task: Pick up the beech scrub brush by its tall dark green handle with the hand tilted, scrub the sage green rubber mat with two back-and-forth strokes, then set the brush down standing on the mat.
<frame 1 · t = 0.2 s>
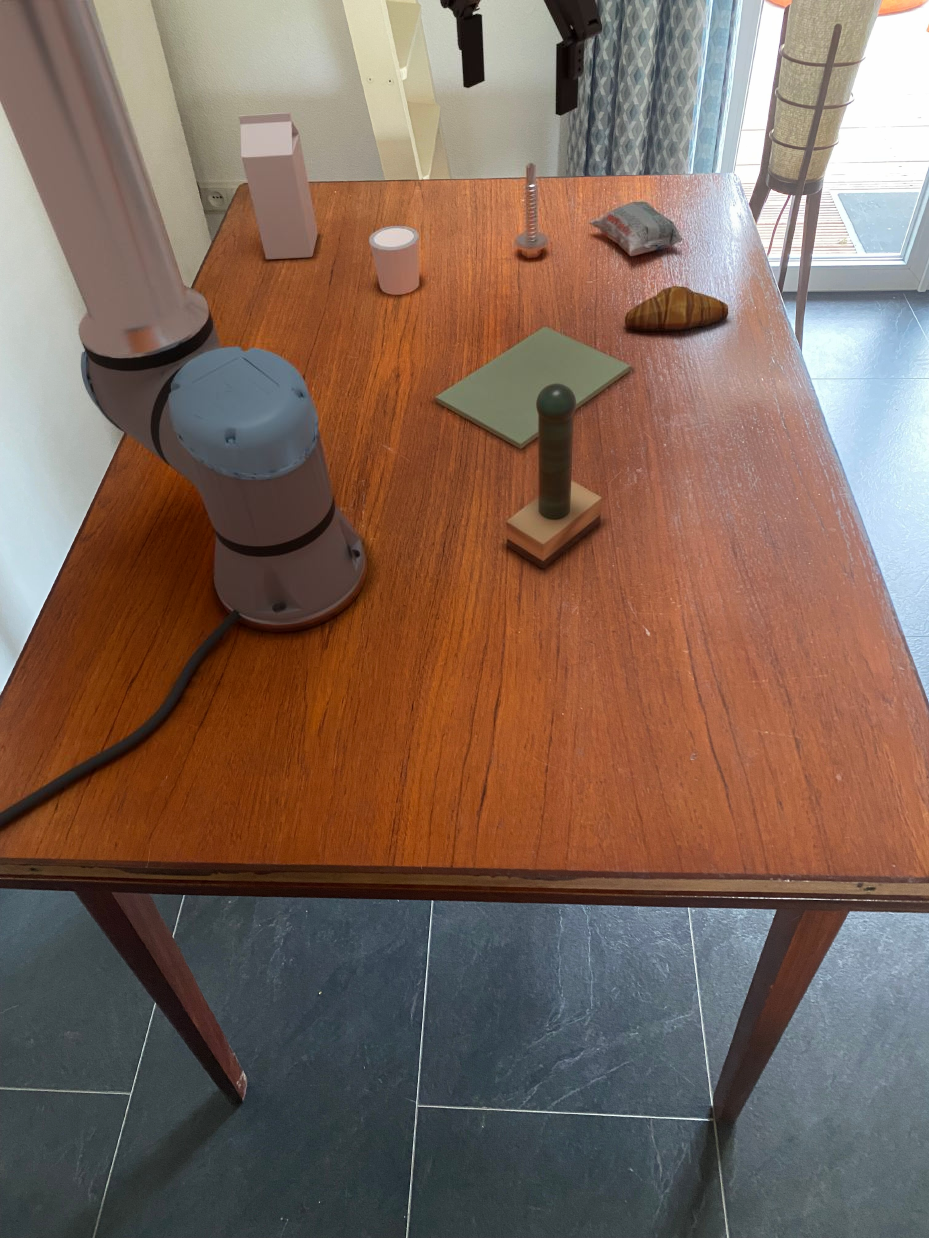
hand: (518, 97, 99), 28 cm above the table, tool pointing down, fingers open, 13 cm apart
croissant: (675, 325, 118), on the table
milk carton: (292, 249, 138), on the table
yogurt cup: (399, 285, 129), on the table
packaged food: (633, 246, 132), on the table
scrub brush: (553, 534, 94), on the table
screw: (531, 255, 132), on the table
mat: (533, 386, 111), on the table
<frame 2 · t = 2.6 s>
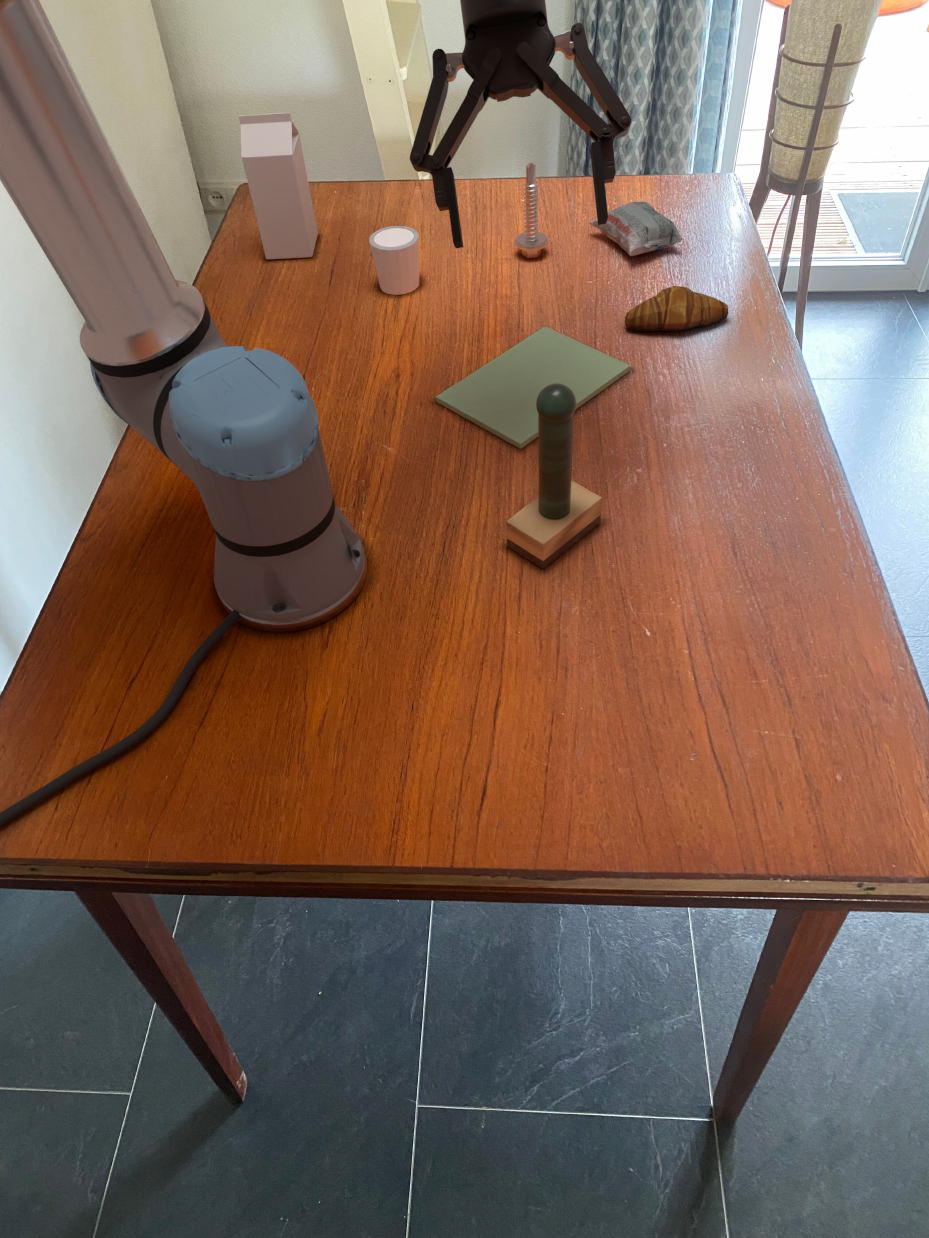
hand: (530, 234, 85), 25 cm above the table, tool tilted 40°, fingers open, 13 cm apart
nothing on the table moved.
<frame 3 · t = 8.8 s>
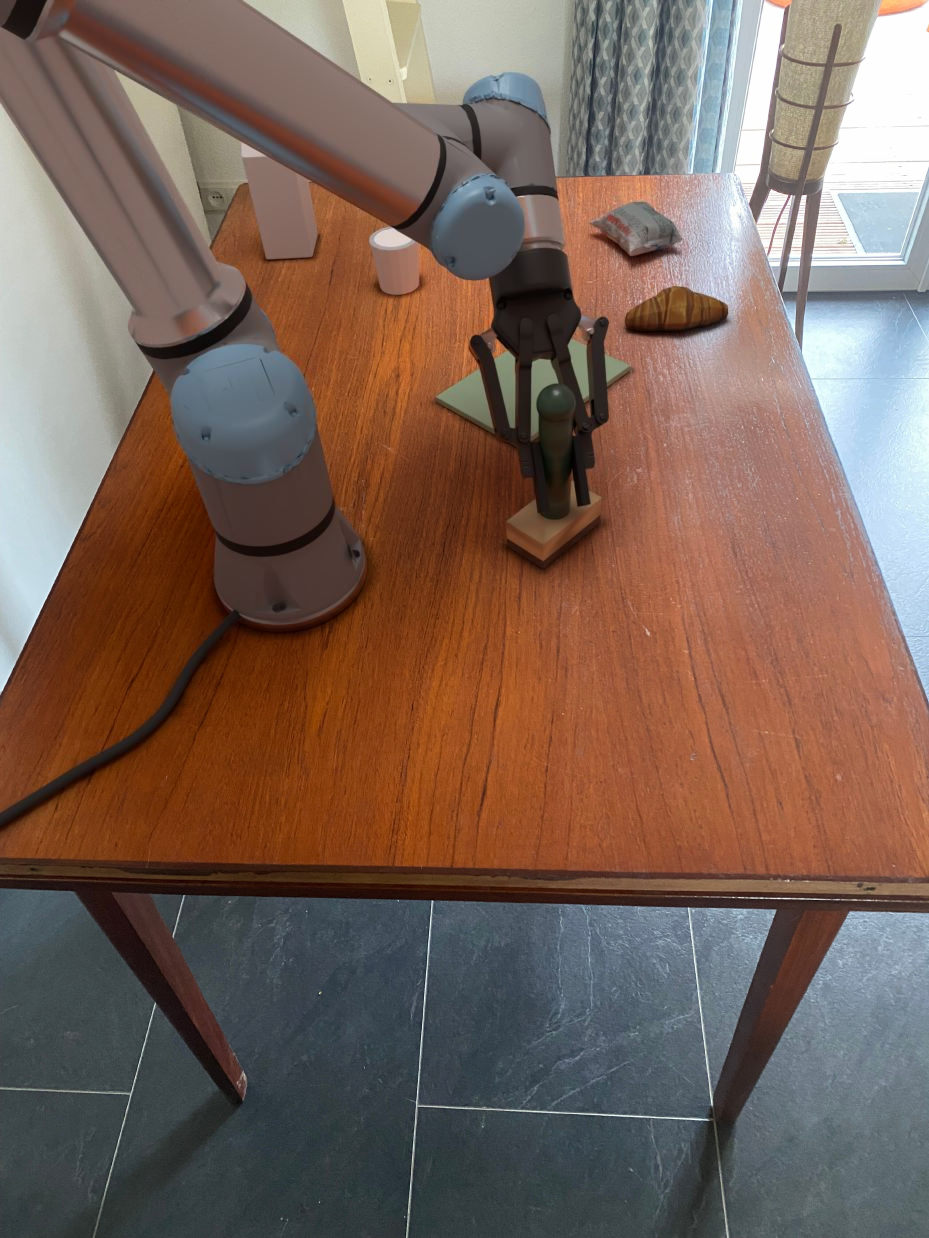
hand: (563, 508, 86), 7 cm above the table, tool tilted 45°, fingers closed on scrub brush, 3 cm apart
scrub brush: (553, 534, 94), on the table, touching gripper
everything else where it was.
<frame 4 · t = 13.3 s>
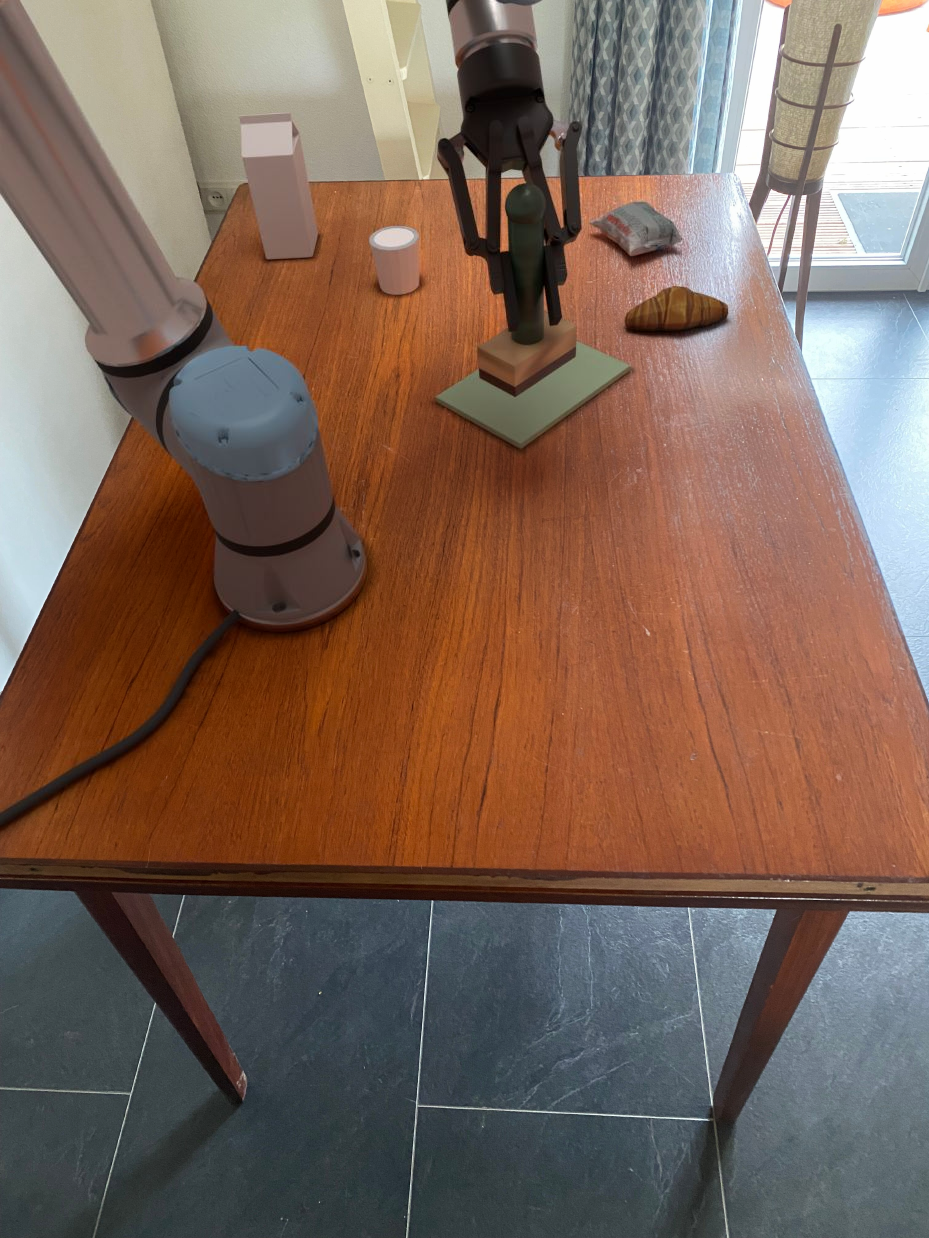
hand: (535, 324, 83), 20 cm above the table, tool tilted 45°, fingers closed on scrub brush, 3 cm apart
scrub brush: (527, 367, 91), point 13 cm above the table, touching gripper
everything else where it was.
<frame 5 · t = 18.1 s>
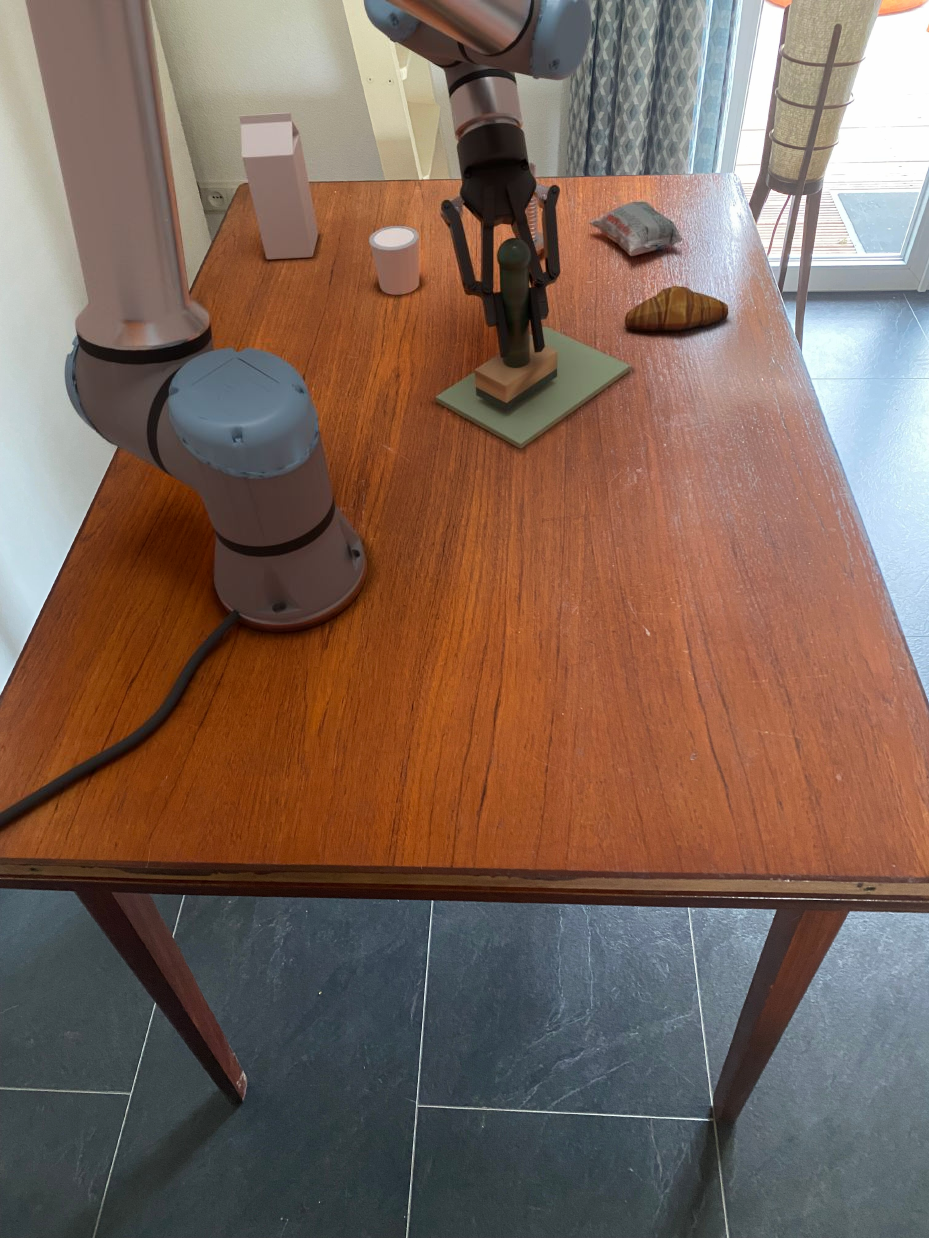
hand: (522, 351, 101), 9 cm above the table, tool tilted 45°, fingers closed on scrub brush, 3 cm apart
scrub brush: (516, 386, 109), point 2 cm above the table, touching gripper
everything else where it was.
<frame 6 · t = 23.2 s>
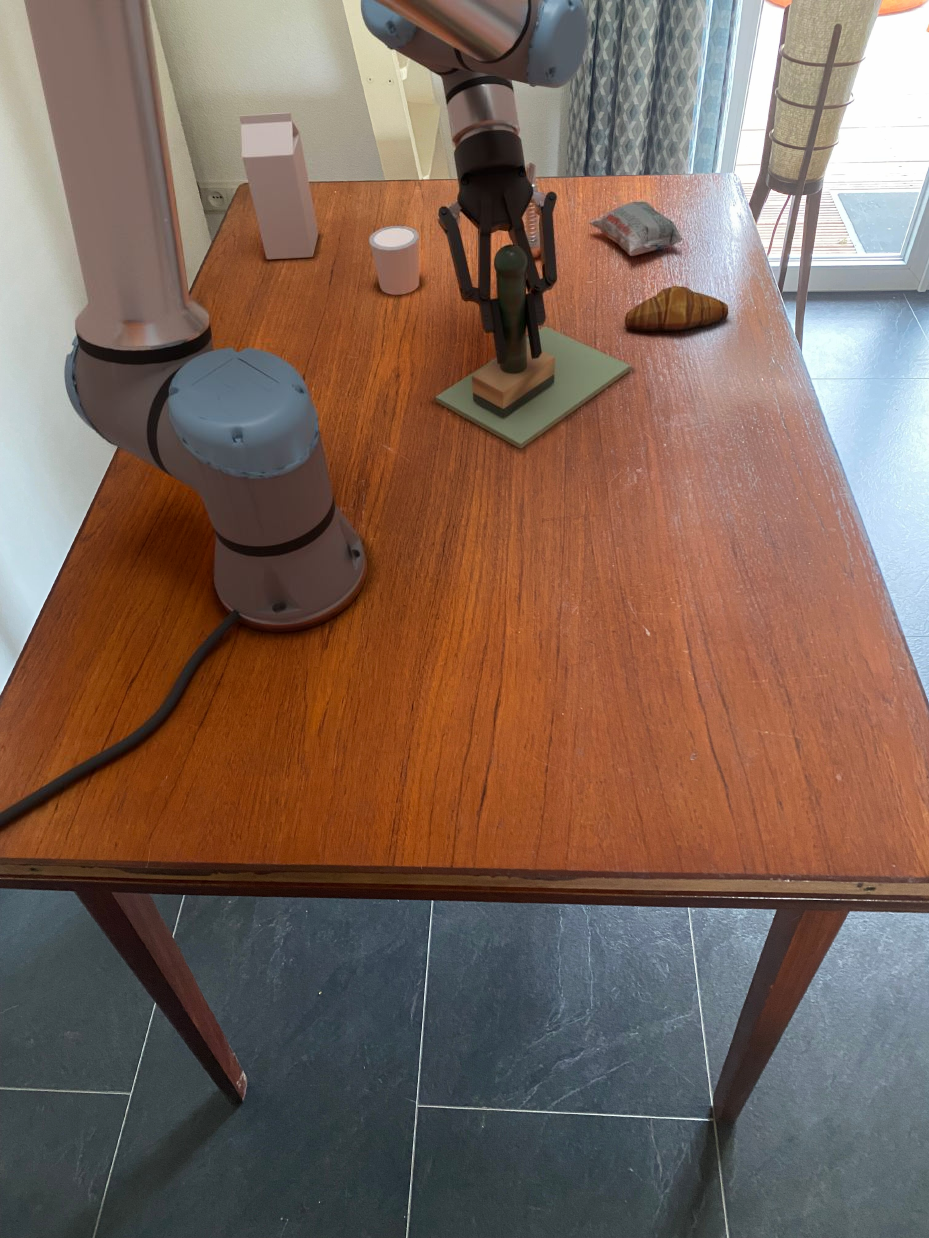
hand: (519, 358, 101), 8 cm above the table, tool tilted 45°, fingers closed on scrub brush, 3 cm apart
scrub brush: (514, 391, 109), point 1 cm above the table, touching gripper
everything else where it was.
when the fingers open (8 cm above the table, at t = 27.3 s): scrub brush stays where it is, resting on mat.
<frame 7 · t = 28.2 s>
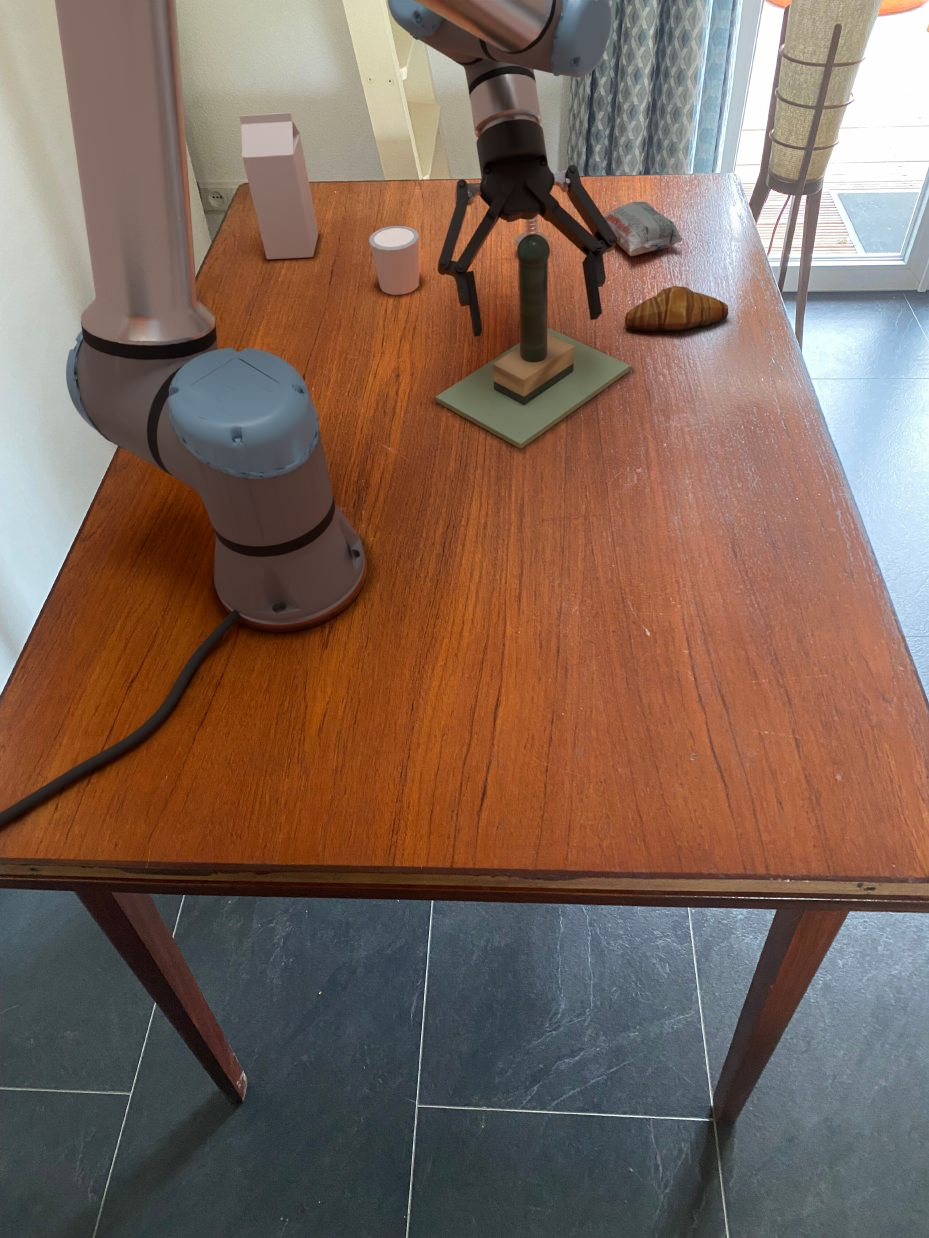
hand: (537, 325, 102), 10 cm above the table, tool tilted 45°, fingers open, 13 cm apart
scrub brush: (533, 380, 111), point 1 cm above the table, touching mat
everything else where it was.
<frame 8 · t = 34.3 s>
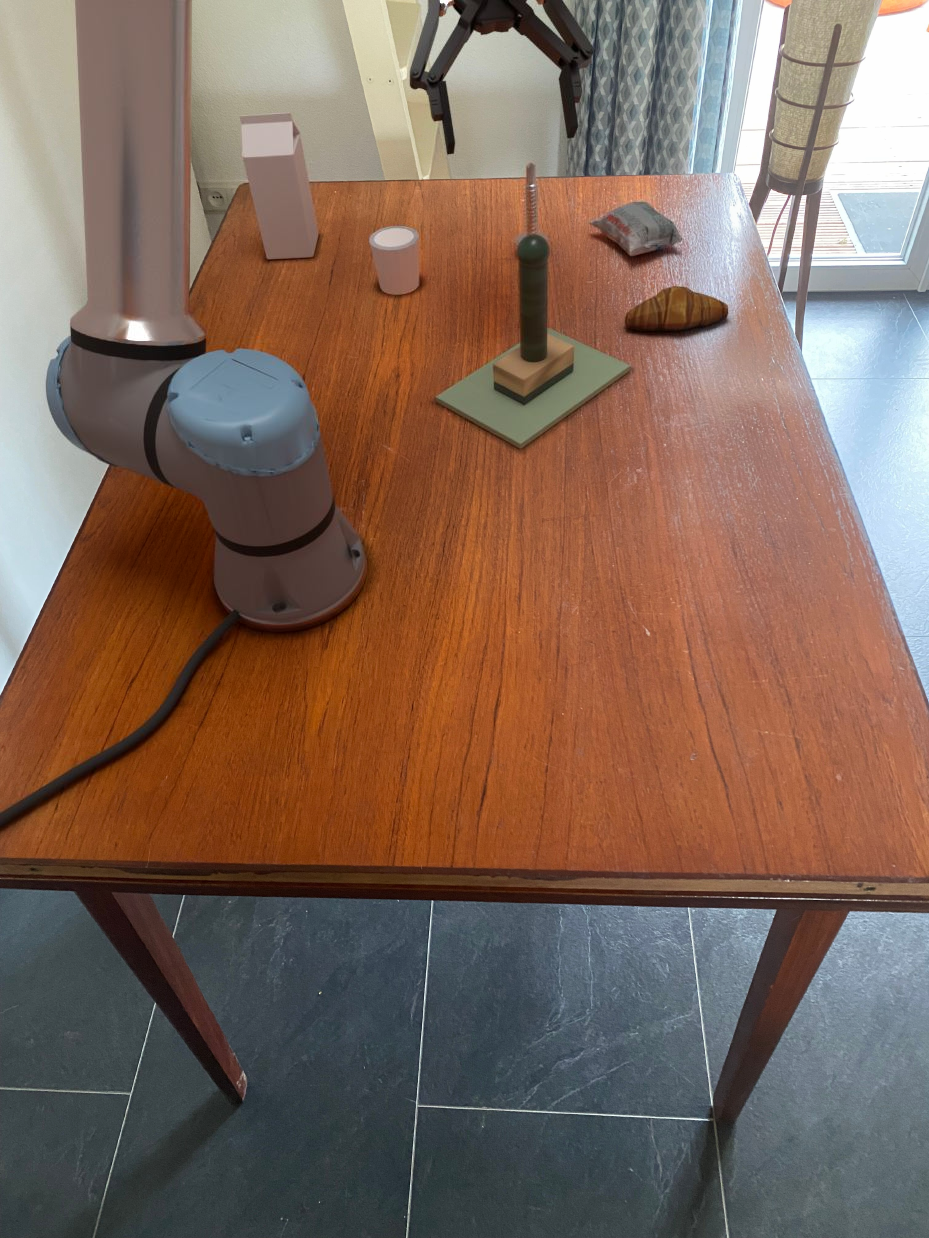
hand: (512, 141, 99), 25 cm above the table, tool tilted 45°, fingers open, 13 cm apart
nothing on the table moved.
at the end: scrub brush inside the target area on the mat (0.1 cm from its centre), point 0.8 cm above the mat's base; scrub brush tilted 0°; the gripper is holding nothing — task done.
